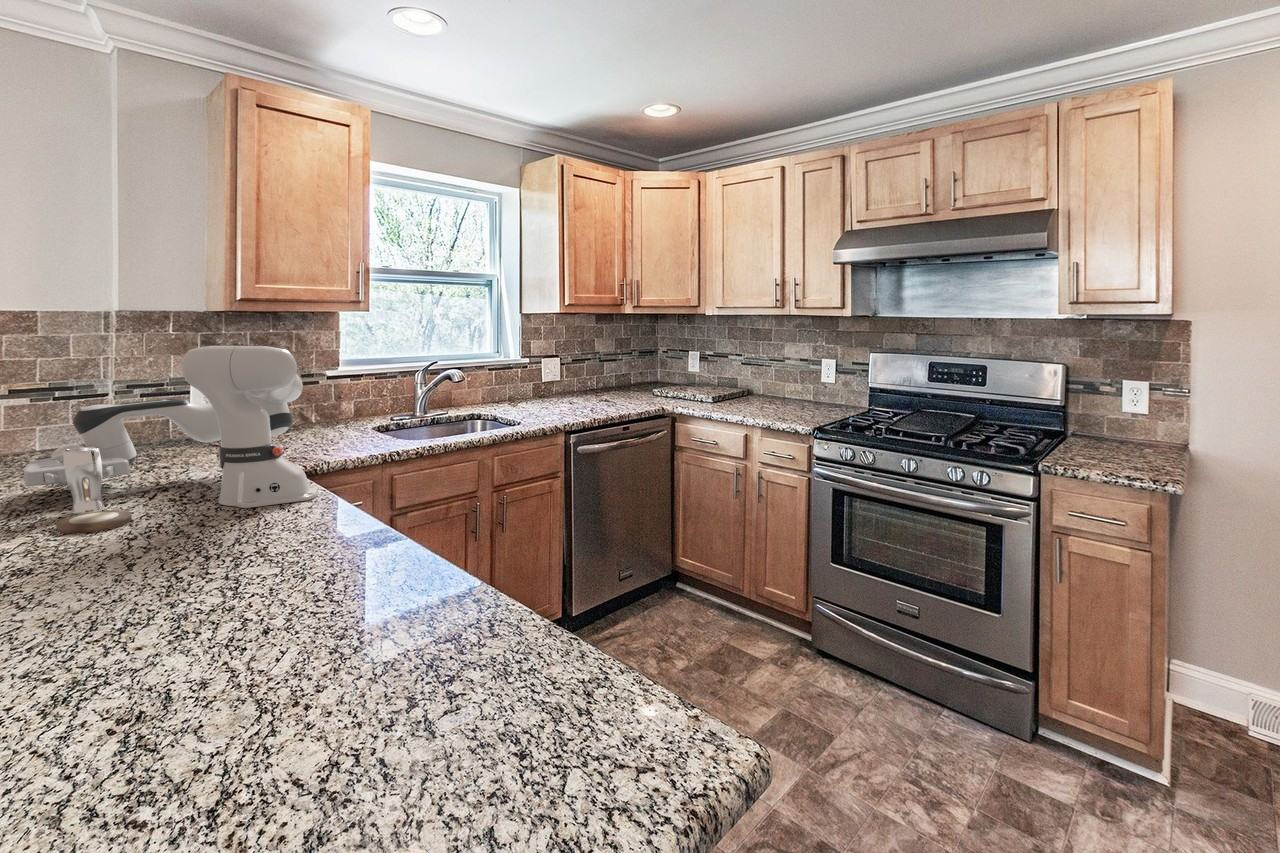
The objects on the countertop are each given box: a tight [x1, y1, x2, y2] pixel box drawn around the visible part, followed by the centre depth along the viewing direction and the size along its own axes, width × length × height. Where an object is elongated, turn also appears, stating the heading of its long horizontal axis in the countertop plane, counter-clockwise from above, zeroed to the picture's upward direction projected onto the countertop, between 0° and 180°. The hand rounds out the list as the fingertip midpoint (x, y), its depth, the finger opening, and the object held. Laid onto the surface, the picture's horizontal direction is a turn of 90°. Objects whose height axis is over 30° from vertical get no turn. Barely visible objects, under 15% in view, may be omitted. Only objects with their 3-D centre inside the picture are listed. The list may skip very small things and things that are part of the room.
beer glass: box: [63, 446, 106, 515], centre depth 159 cm, size 7×7×15 cm
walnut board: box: [55, 509, 133, 535], centre depth 149 cm, size 13×13×2 cm
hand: (81, 476), depth 163 cm, fingers open, 8 cm apart
